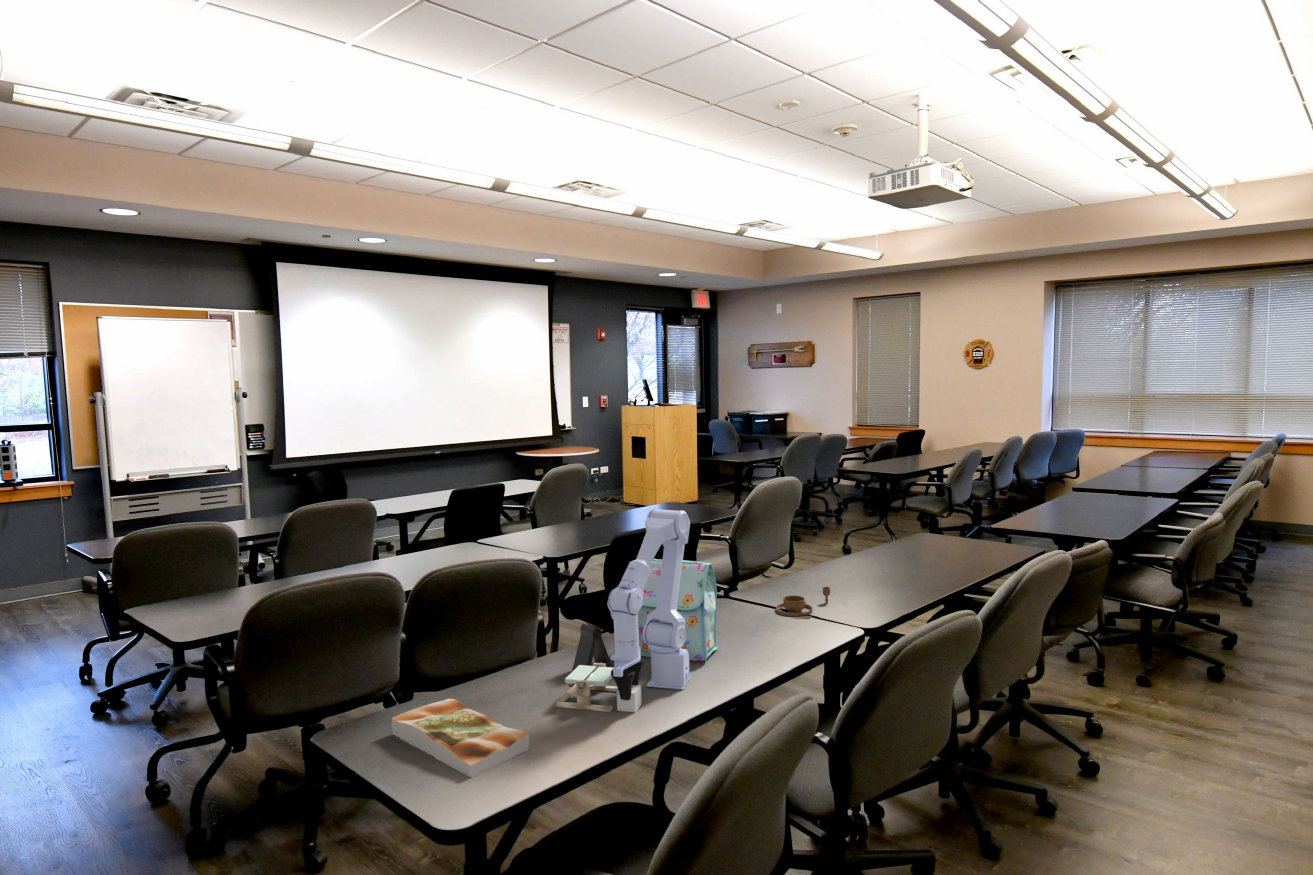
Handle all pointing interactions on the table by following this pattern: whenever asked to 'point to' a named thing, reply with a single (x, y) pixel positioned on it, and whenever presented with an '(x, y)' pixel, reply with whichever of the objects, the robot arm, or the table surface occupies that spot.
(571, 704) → the trapdoor frame
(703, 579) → the lunch bag
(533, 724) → the table surface
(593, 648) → the phone stand
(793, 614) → the place setting
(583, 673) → the trapdoor
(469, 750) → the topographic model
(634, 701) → the light grey cube
